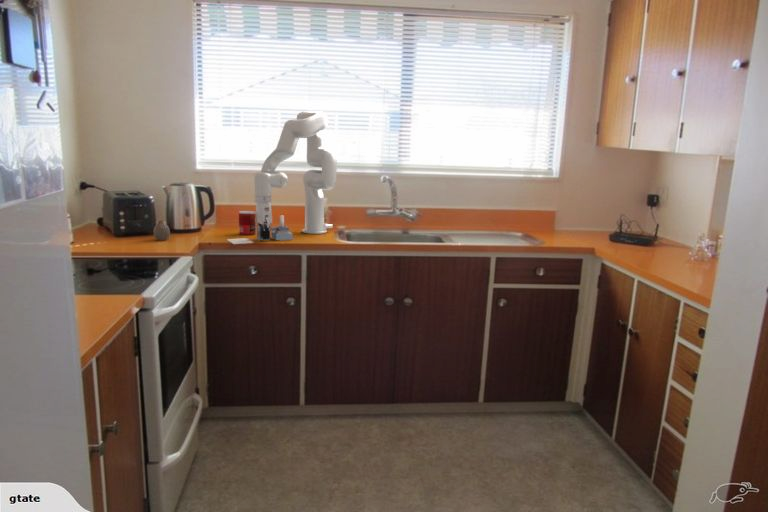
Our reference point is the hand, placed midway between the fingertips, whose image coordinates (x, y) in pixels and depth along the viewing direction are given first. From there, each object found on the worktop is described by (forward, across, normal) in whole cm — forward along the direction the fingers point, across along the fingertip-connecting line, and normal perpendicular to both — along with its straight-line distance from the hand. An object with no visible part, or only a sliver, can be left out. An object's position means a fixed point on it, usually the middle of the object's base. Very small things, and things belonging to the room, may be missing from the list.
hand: (263, 237), depth 257 cm
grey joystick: (+1, 0, -9) cm, 9 cm away
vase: (+2, +16, +42) cm, 45 cm away
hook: (+1, 0, -4) cm, 5 cm away
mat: (+1, 0, +11) cm, 11 cm away
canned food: (+2, +19, +2) cm, 19 cm away
